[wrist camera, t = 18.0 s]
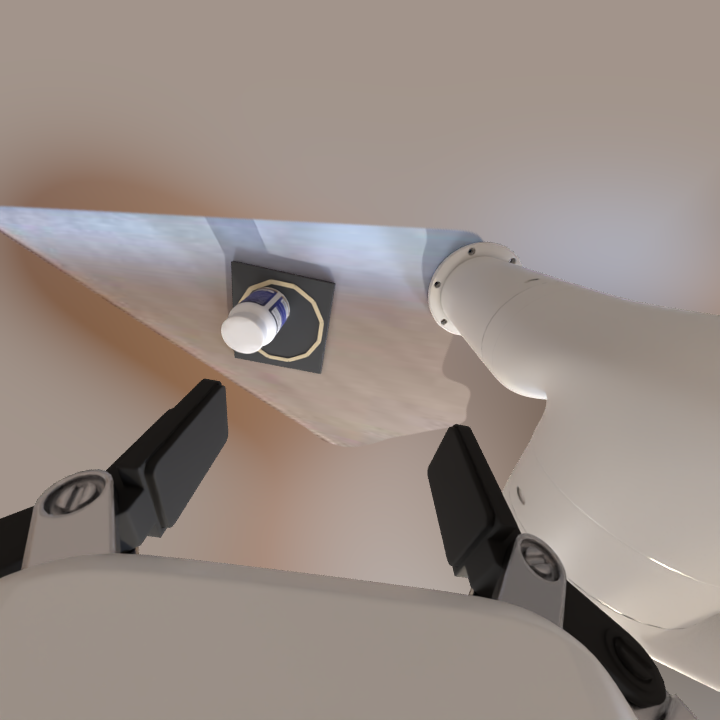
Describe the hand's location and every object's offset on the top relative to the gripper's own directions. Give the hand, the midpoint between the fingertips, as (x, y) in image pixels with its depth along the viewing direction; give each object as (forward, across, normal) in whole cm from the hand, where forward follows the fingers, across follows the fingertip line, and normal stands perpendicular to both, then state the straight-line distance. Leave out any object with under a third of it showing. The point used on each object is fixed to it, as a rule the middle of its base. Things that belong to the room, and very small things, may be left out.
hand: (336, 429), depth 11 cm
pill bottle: (+28, +12, +6) cm, 31 cm away
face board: (+28, +10, +8) cm, 31 cm away
